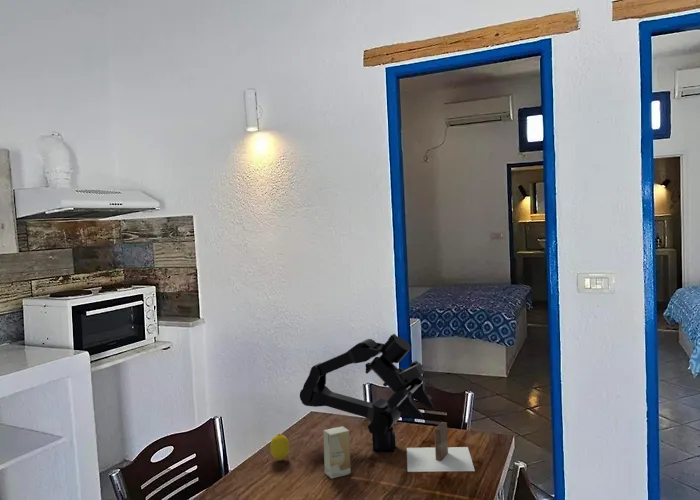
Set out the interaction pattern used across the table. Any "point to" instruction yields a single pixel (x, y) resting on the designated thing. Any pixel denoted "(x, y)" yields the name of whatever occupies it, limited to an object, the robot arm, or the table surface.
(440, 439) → the tile
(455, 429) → the table surface
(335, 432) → the skincare box
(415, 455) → the mat
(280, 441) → the lemon
